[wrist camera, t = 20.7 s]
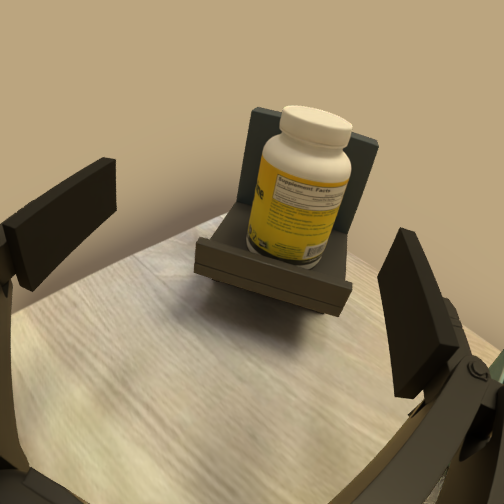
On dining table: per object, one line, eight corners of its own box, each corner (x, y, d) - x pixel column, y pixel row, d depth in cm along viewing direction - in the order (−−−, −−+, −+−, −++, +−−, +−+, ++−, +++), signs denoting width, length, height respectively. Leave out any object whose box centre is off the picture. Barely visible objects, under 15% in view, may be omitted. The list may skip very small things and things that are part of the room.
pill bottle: (257, 219, 29) (282, 97, 22) (324, 240, 28) (363, 120, 21) (233, 259, 24) (260, 110, 17) (313, 285, 23) (365, 140, 16)
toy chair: (191, 316, 27) (205, 141, 18) (234, 240, 36) (257, 106, 27) (317, 356, 25) (395, 195, 16) (329, 269, 35) (377, 139, 26)
